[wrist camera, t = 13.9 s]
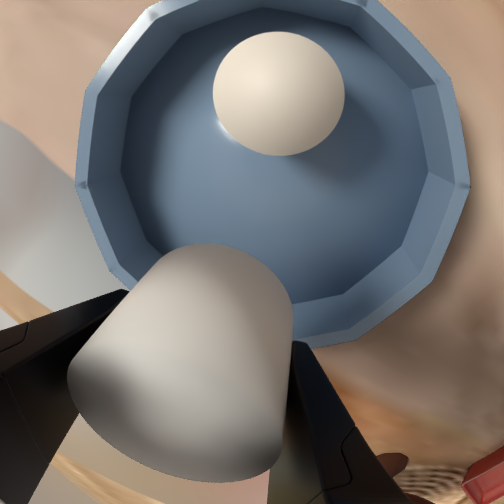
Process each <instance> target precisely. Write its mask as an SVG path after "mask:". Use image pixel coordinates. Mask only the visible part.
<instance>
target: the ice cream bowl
mask: <svg viewBox="0 0 504 504" xmlns="http://www.w3.org/2000/svg"><path fill="white" fill-rule="evenodd" d="M376 457H377V458H378V460H379V461H380V463H381V464H382V465H383V467H384V468H385V469H386V470H387V472H388V473H389V474H390V476H391V477H392V478H393V477H394V476H395V475H397V474H398V473H400V472H401V471H402V470H404V469H405V467H406V463H407V458H408V457H406V456H404V455H403V454H401V453H385V454H382V455H378V456H376ZM405 495H406V496H407V497H408V498H409V499H410V500H411V501H412V502H414V503H415V504H435V503H432V502H430V501H428V500H426V499H424V498H421V497H418V496H416V495H413V494H408V493H405Z"/></svg>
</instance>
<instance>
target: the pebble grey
mask: <svg viewBox="0 0 504 504" xmlns="http://www.w3.org/2000/svg"><path fill="white" fill-rule="evenodd" d="M292 334H293V309H292V304H291V301H290V298H289V296H288V293H287V291H286V290H285V288H284V286H283V284H282V283H281V282H280V280H279V279H278V277H277V276H276V275H275V274H274V273H273V272H272V271H271V270H270V269H269V268H268V267H267V266H265V265H264V264H263V263H262V262H260V261H259V260H257V259H256V258H254V257H253V256H251V255H249V254H247V253H245V252H243V251H240V250H238V249H235V248H232V247H229V246H224V245H219V244H209V243H202V244H192V245H186V246H183V247H180V248H177V249H175V250H173V251H171V252H169V253H167V254H166V255H164V256H163V257H162V258H160V259H159V260H158V261H157V262H156V263H155V264H154V265H153V266H152V268H151V269H150V270H149V271H148V272H147V273H146V274H145V275H144V276H143V277H142V279H141V280H140V281H139V282H138V283H137V284H136V285H135V286H134V288H133V289H132V290H131V291H130V292H129V293H128V294H127V295H126V297H125V298H124V299H123V300H122V301H121V302H120V303H119V305H118V306H117V307H116V308H115V309H114V310H113V311H112V313H111V314H110V315H109V316H108V317H107V318H106V320H105V321H104V322H103V323H102V324H101V325H100V327H99V328H98V329H97V330H96V331H95V333H94V334H93V335H92V336H91V337H90V339H89V340H88V341H87V342H86V343H85V345H84V346H83V347H82V348H81V349H80V351H79V352H78V353H77V354H76V356H75V357H74V358H73V359H72V361H71V363H70V365H69V367H68V372H67V384H68V389H69V392H70V395H71V398H72V400H73V402H74V404H75V406H76V408H77V409H78V411H79V413H80V414H81V416H82V417H83V418H84V419H85V421H86V422H87V423H88V424H89V425H90V426H91V427H92V428H93V430H94V431H95V432H96V433H97V434H99V435H100V436H101V437H102V438H103V439H104V440H105V441H106V442H108V443H109V444H110V445H112V446H113V447H114V448H116V449H117V450H119V451H120V452H121V453H123V454H125V455H126V456H128V457H130V458H131V459H133V460H135V461H137V462H139V463H141V464H143V465H145V466H147V467H150V468H152V469H154V470H157V471H160V472H162V473H165V474H168V475H172V476H175V477H179V478H183V479H188V480H194V481H201V482H215V483H216V482H217V483H223V482H234V481H241V480H245V479H249V478H252V477H255V476H258V475H260V474H262V473H263V472H265V471H267V470H268V469H270V468H271V467H272V466H273V465H274V464H275V463H276V461H277V460H278V458H279V456H280V454H281V450H282V444H283V435H284V425H285V415H286V405H287V395H288V384H289V372H290V360H291V347H292Z"/></svg>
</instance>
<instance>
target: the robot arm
mask: <svg viewBox="0 0 504 504" xmlns="http://www.w3.org/2000/svg"><path fill="white" fill-rule="evenodd" d="M128 293H129V291H127V290H124V289H119V290H116V291H114V292H110V293H107V294H105V295H102V296H99V297H96V298H93V299H90V300H87V301H85V302H82V303H79V304H76V305H73V306H70V307H68V308H65V309H62V310H59V311H56V312H53V313H50V314H48V315H45V316H42V317H39V318H36V319H33V320H31V321H29V322H25V323H22V324H19V325H16V326H13V327H10V328H7V329H4V330H1V331H0V502H2V503H3V504H28V503H29V501H30V499H31V497H32V495H33V493H34V491H35V489H36V488H37V486H38V484H39V482H40V480H41V478H42V477H43V475H44V473H45V471H46V469H47V468H48V466H49V463H50V462H51V460H52V458H53V457H54V455H55V453H56V451H57V450H58V448H59V446H60V445H61V443H62V441H63V439H64V438H65V436H66V434H67V433H68V431H69V429H70V428H71V426H72V424H73V423H74V421H75V419H76V418H77V416H78V414H79V411H78V409H77V408H76V406H75V404H74V402H73V400H72V398H71V395H70V392H69V389H68V384H67V372H68V367H69V365H70V363H71V361H72V359H73V358H74V357H75V356H76V354H77V353H78V352H79V351H80V349H81V348H82V347H83V346H84V345H85V343H86V342H87V341H88V340H89V339H90V337H91V336H92V335H93V334H94V333H95V331H96V330H97V329H98V328H99V327H100V325H101V324H102V323H103V322H104V321H105V320H106V318H107V317H108V316H109V315H110V314H111V313H112V311H113V310H114V309H115V308H116V307H117V306H118V305H119V303H120V302H121V301H122V300H123V299H124V298H125V297H126V295H127V294H128ZM267 504H415V503H414V502H412V501H411V500H410V499H409V498H408V497H407V496H406V495H405V493H404V492H403V491H402V490H401V488H400V487H399V486H398V485H397V483H396V482H395V481H394V479H393V478H392V477H391V476H390V474H389V473H388V472H387V470H386V469H385V468H384V467H383V465H382V464H381V463H380V461H379V460H378V458H377V457H376V456H375V454H374V453H373V452H372V450H371V449H370V447H369V446H368V444H367V442H366V441H365V439H364V438H363V436H362V434H361V433H360V431H359V429H358V428H357V427H356V426H355V423H354V421H353V419H352V418H351V416H350V414H349V413H348V411H347V409H346V408H345V406H344V404H343V403H342V401H341V399H340V398H339V396H338V394H337V393H336V391H335V389H334V387H333V386H332V384H331V382H330V381H329V379H328V377H327V376H326V374H325V372H324V371H323V369H322V367H321V366H320V364H319V362H318V361H317V359H316V357H315V355H314V354H313V352H312V350H311V349H310V347H309V345H308V344H307V343H306V342H302V341H297V340H294V341H293V342H292V347H291V360H290V372H289V384H288V395H287V405H286V415H285V425H284V435H283V444H282V450H281V454H280V456H279V458H278V460H277V461H276V463H275V464H274V465H273V466H272V467H271V468H270V474H269V486H268V498H267Z"/></svg>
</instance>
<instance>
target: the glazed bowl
mask: <svg viewBox="0 0 504 504" xmlns="http://www.w3.org/2000/svg"><path fill="white" fill-rule="evenodd" d="M268 32H288V33H293V34H297V35H300V36H303V37H306V38H308V39H310V40H312V41H313V42H315V43H316V44H318V45H319V46H321V47H322V48H323V49H324V50H325V51H326V52H327V53H328V54H329V55H330V56H331V57H332V59H333V60H334V62H335V63H336V65H337V67H338V69H339V71H340V73H341V76H342V79H343V83H344V90H345V100H344V106H343V110H342V114H341V116H340V119H339V121H338V123H337V125H336V126H335V128H334V129H333V131H332V132H331V133H330V134H329V135H328V136H327V137H326V138H325V139H324V140H323V141H322V142H320V143H319V144H318V145H316V146H315V147H313V148H311V149H309V150H307V151H304V152H301V153H298V154H293V155H286V156H272V155H266V154H262V153H258V152H255V151H253V150H251V149H248V148H247V147H245V146H243V145H241V144H240V143H239V142H237V141H236V140H235V139H234V138H233V137H232V136H231V135H230V134H229V133H228V132H227V131H226V130H225V128H224V127H223V125H222V124H221V122H220V120H219V118H218V116H217V113H216V110H215V107H214V101H213V85H214V79H215V76H216V73H217V70H218V68H219V66H220V64H221V62H222V61H223V59H224V58H225V57H226V55H227V54H228V53H229V52H230V51H231V50H232V49H233V48H234V47H235V46H237V45H238V44H239V43H241V42H242V41H244V40H246V39H248V38H250V37H253V36H255V35H258V34H262V33H268ZM75 188H76V191H77V193H78V196H79V199H80V201H81V204H82V207H83V209H84V212H85V214H86V217H87V219H88V222H89V224H90V227H91V229H92V232H93V234H94V236H95V239H96V241H97V244H98V246H99V248H100V251H101V253H102V255H103V257H104V260H105V262H106V264H107V266H108V269H109V271H110V272H111V273H112V274H113V275H114V276H115V277H116V278H118V279H119V280H120V281H121V282H122V283H123V284H124V285H125V286H127V288H128V289H130V290H132V289H133V288H134V286H135V285H136V284H137V283H138V282H139V281H140V280H141V279H142V277H143V276H144V275H145V274H146V273H147V272H148V271H149V270H150V269H151V268H152V266H153V265H154V264H155V263H156V262H157V261H158V260H159V259H160V258H162V257H163V256H164V255H166V254H167V253H169V252H171V251H173V250H175V249H177V248H180V247H183V246H186V245H192V244H202V243H209V244H219V245H224V246H229V247H232V248H235V249H238V250H240V251H243V252H245V253H247V254H249V255H251V256H253V257H254V258H256V259H257V260H259V261H260V262H262V263H263V264H264V265H265V266H267V267H268V268H269V269H270V270H271V271H272V272H273V273H274V274H275V275H276V276H277V277H278V279H279V280H280V282H281V283H282V284H283V286H284V288H285V290H286V291H287V293H288V296H289V298H290V301H291V304H292V309H293V334H292V342H293V341H294V340H297V341H302V342H306V343H307V344H308V345H309V347H310V349H312V348H318V347H324V346H329V345H334V344H339V343H344V342H349V341H354V340H357V339H358V338H360V337H361V336H362V335H364V334H365V333H367V332H368V331H369V330H371V329H372V328H373V327H375V326H376V325H378V324H379V323H380V322H382V321H383V320H384V319H386V318H387V317H388V316H390V315H391V314H392V313H393V312H395V311H396V310H397V309H399V308H400V307H401V306H403V305H404V304H405V303H406V302H408V301H409V300H410V299H411V298H413V297H414V296H415V295H416V294H418V293H419V292H420V291H421V290H422V289H424V288H425V287H426V286H427V285H428V284H430V283H431V282H432V280H433V278H434V276H435V274H436V272H437V270H438V267H439V265H440V263H441V261H442V259H443V256H444V254H445V252H446V249H447V247H448V245H449V242H450V240H451V238H452V235H453V233H454V230H455V228H456V225H457V223H458V220H459V217H460V215H461V212H462V209H463V207H464V204H465V201H466V198H467V196H468V193H469V190H470V188H471V186H470V178H469V170H468V162H467V155H466V148H465V142H464V136H463V131H462V125H461V120H460V115H459V111H458V106H457V102H456V98H455V93H454V89H453V85H452V82H451V78H450V77H449V75H448V74H447V73H446V72H445V70H444V69H443V68H442V67H441V66H440V64H439V63H438V62H437V61H436V60H435V59H434V57H433V56H432V55H431V54H430V53H429V52H428V51H427V49H426V48H425V47H424V46H423V45H422V44H421V43H420V42H419V41H418V40H417V39H416V37H415V36H414V35H413V34H412V33H411V32H410V31H409V30H408V29H407V28H406V27H405V26H404V25H403V24H402V23H401V22H400V21H399V20H398V19H397V18H396V17H395V16H394V15H393V14H391V13H390V12H389V11H388V10H387V9H386V8H385V7H384V6H383V5H382V4H381V3H379V2H378V1H377V0H162V1H160V2H158V3H156V4H154V5H152V6H150V7H147V9H146V10H145V11H144V12H143V13H142V14H141V15H140V17H139V18H138V19H137V20H136V21H135V23H134V24H133V25H132V26H131V28H130V29H129V30H128V31H127V32H126V34H125V35H124V36H123V38H122V39H121V40H120V41H119V43H118V44H117V45H116V47H115V48H114V49H113V51H112V52H111V53H110V55H109V56H108V58H107V59H106V60H105V62H104V63H103V65H102V66H101V67H100V69H99V70H98V72H97V73H96V75H95V76H94V78H93V79H92V81H91V82H90V84H89V85H88V87H87V89H86V90H85V95H84V101H83V108H82V115H81V122H80V130H79V139H78V149H77V161H76V175H75Z"/></svg>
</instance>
